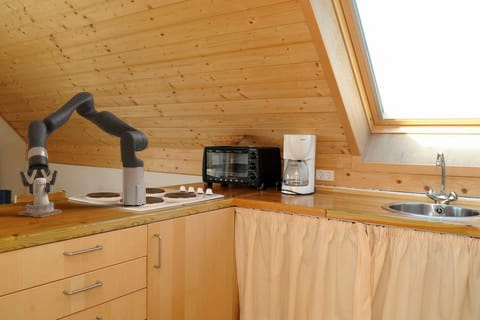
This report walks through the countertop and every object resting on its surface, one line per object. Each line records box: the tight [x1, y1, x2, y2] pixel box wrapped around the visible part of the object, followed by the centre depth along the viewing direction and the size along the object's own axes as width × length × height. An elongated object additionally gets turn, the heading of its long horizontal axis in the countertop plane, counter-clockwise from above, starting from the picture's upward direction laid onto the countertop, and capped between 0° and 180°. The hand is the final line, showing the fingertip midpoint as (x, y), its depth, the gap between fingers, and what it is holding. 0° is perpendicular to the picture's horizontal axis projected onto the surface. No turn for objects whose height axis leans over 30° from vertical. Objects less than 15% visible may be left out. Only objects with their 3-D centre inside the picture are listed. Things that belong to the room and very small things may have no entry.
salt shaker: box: [33, 178, 50, 205], centre depth 160 cm, size 6×6×13 cm
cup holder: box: [17, 201, 62, 218], centre depth 159 cm, size 12×10×4 cm
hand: (39, 192), depth 157 cm, fingers open, 4 cm apart
